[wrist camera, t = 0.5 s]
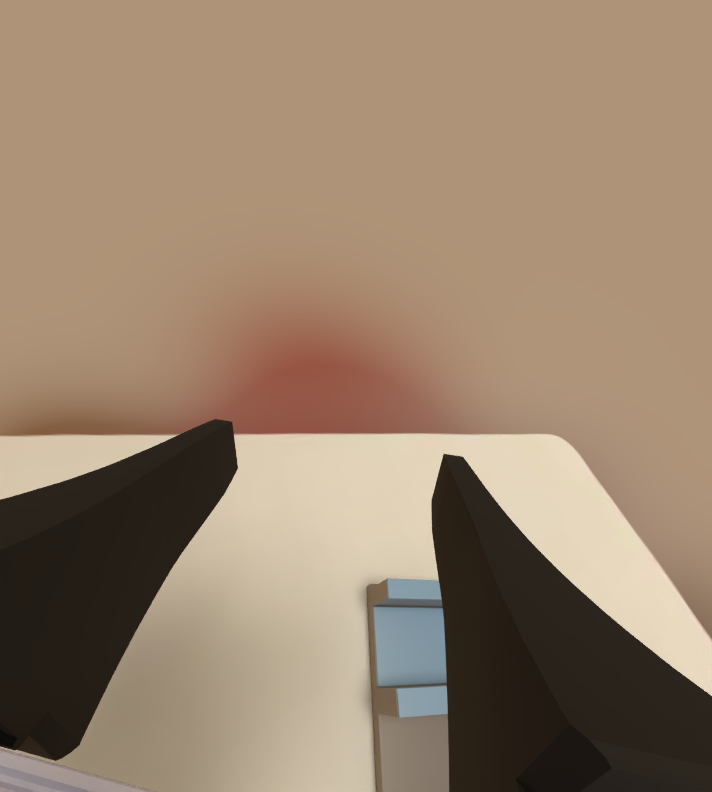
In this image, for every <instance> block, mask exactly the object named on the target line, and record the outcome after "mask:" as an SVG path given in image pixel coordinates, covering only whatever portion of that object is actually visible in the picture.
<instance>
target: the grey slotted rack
mask: <svg viewBox="0 0 712 792" xmlns="http://www.w3.org/2000/svg"><path fill="white" fill-rule="evenodd" d="M367 600H368V621H369V642H370V663H371V684H372V705H373V726H374V747H375V768H376V789H377V792H449V746H448V704H447V677H446V653H445V632H444V617H443V607H442V598H441V591H440V584H439V581H432V580H410V579H386V580H384V581H383V582H381V583H379V584H370V585H369V586H367Z"/></svg>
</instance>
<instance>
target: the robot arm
mask: <svg viewBox="0 0 712 792" xmlns="http://www.w3.org/2000/svg"><path fill="white" fill-rule="evenodd" d="M237 469H238V465H237V457H236V449H235V441H234V433H233V425H232V422H230V421H223V420H217V419H215V420H212V421H210V422H207V423H205V424H202V425H200V426H198V427H195V428H193V429H191V430H189V431H187V432H184V433H182V434H180V435H178V436H176V437H174V438H171V439H169V440H167V441H165V442H163V443H160V444H158V445H156V446H154V447H152V448H149V449H147V450H145V451H142V452H140V453H137V454H135V455H133V456H130V457H128V458H126V459H123V460H121V461H118V462H116V463H114V464H111V465H108V466H106V467H103V468H100V469H98V470H95V471H92V472H89V473H87V474H84V475H81V476H78V477H75V478H72V479H69V480H66V481H63V482H60V483H57V484H53V485H50V486H47V487H43V488H40V489H36V490H33V491H30V492H26V493H23V494H20V495H16V496H13V497H9V498H5V499H1V500H0V746H1V747H4V748H8V749H12V750H20V751H23V752H27V753H30V754H34V755H37V756H41V757H45V758H48V759H52V760H55V761H56V760H59V759H61V758H63V757H64V756H66V755H68V754H69V753H71V752H72V751H73V750H74V749H75V748H77V747H78V746H79V744H80V742H81V740H82V738H83V736H84V734H85V731H86V729H87V727H88V725H89V723H90V721H91V719H92V717H93V715H94V713H95V711H96V709H97V706H98V704H99V702H100V700H101V698H102V696H103V694H104V692H105V690H106V688H107V686H108V684H109V682H110V680H111V678H112V676H113V674H114V672H115V670H116V668H117V666H118V664H119V662H120V660H121V658H122V656H123V655H124V653H125V651H126V649H127V647H128V645H129V643H130V641H131V639H132V637H133V635H134V633H135V632H136V630H137V628H138V626H139V624H140V623H141V621H142V619H143V617H144V616H145V614H146V612H147V610H148V608H149V607H150V605H151V603H152V601H153V599H154V598H155V596H156V594H157V592H158V591H159V589H160V587H161V586H162V584H163V582H164V581H165V579H166V577H167V576H168V574H169V572H170V570H171V569H172V567H173V565H174V564H175V562H176V561H177V559H178V558H179V556H180V555H181V553H182V552H183V551H184V549H185V548H186V546H187V545H188V544H189V542H190V541H191V540H192V538H193V537H194V535H195V534H196V533H197V531H198V530H199V528H200V527H201V526H202V524H203V523H204V522H205V520H206V519H207V517H208V516H209V515H210V513H211V512H212V510H213V509H214V508H215V506H216V505H217V503H218V502H219V501H220V499H221V498H222V496H223V495H224V493H225V492H226V490H227V488H228V486H229V484H230V483H231V481H232V479H233V477H234V475H235V473H236V471H237ZM432 533H433V541H434V548H435V556H436V563H437V570H438V577H439V584H440V591H441V598H442V607H443V617H444V632H445V653H446V677H447V704H448V746H449V792H712V696H711V695H709V694H708V693H707V692H705V691H704V690H703V689H701V688H700V687H699V686H697V685H696V684H694V683H693V682H692V681H690V680H689V679H688V678H686V677H685V676H684V675H682V674H681V673H680V672H678V671H677V670H676V669H674V668H673V667H672V666H670V665H669V664H668V663H666V662H665V661H664V660H663V659H661V658H660V657H659V656H658V655H656V654H655V653H654V652H653V651H651V650H650V649H649V648H648V647H646V646H645V645H644V644H643V643H641V642H640V641H639V640H638V639H636V638H635V637H634V636H633V635H631V634H630V633H629V632H628V631H626V630H625V629H624V628H623V627H622V626H620V625H619V624H618V623H617V622H616V621H614V620H613V619H612V618H611V617H610V616H609V615H607V614H606V613H605V612H604V611H603V610H601V609H600V608H599V607H598V606H597V605H596V604H595V603H594V602H593V601H591V600H590V599H589V598H588V597H587V596H586V595H585V594H584V593H582V592H581V591H580V590H579V589H578V588H577V587H576V586H575V585H574V584H572V583H571V582H570V581H569V580H568V579H567V578H566V577H565V576H564V575H563V574H562V573H561V572H560V571H559V570H558V569H557V568H556V567H555V566H554V565H553V564H552V563H551V562H550V561H549V560H548V559H547V558H546V557H545V556H544V555H543V554H542V553H541V552H540V551H539V550H538V549H537V548H536V547H535V546H534V545H533V544H532V543H531V542H530V541H529V540H528V539H527V537H526V536H525V535H524V534H523V533H522V532H521V531H520V530H519V528H518V527H517V526H516V525H515V524H514V523H513V522H512V520H511V519H510V518H509V517H508V516H507V514H506V513H505V512H504V511H503V510H502V508H501V507H500V506H499V505H498V503H497V502H496V501H495V499H494V498H493V497H492V496H491V494H490V493H489V492H488V490H487V489H486V488H485V486H484V485H483V484H482V482H481V481H480V480H479V478H478V477H477V475H476V474H475V473H474V471H473V470H472V468H471V467H470V466H469V464H468V463H467V462H466V460H465V459H464V458H463V457H460V456H454V455H447V454H444V455H443V459H442V462H441V466H440V470H439V474H438V478H437V482H436V486H435V489H434V493H433V497H432ZM0 792H153V791H150V790H146V789H143V788H139V787H135V786H132V785H128V784H125V783H121V782H118V781H114V780H111V779H107V778H103V777H100V776H96V775H93V774H89V773H86V772H82V771H79V770H75V769H71V768H68V767H64V766H61V765H57V764H54V763H50V762H46V761H43V760H39V759H36V758H32V757H29V756H25V755H22V754H18V753H14V752H11V751H7V750H4V749H0Z"/></svg>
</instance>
